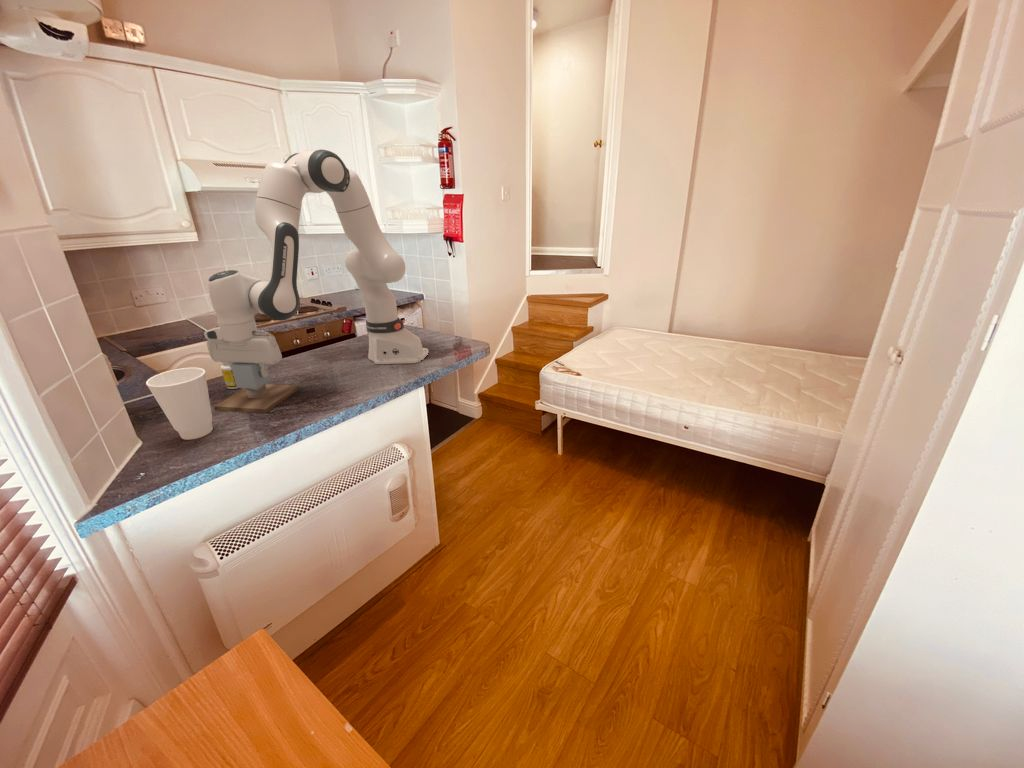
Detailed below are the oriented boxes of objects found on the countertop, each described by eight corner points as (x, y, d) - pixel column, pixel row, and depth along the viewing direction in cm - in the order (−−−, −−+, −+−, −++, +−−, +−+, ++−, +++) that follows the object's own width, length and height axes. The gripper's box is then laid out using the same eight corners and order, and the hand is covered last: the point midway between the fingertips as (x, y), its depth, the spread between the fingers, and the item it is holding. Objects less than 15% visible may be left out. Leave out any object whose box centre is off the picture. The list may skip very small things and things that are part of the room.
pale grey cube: (270, 380, 128) (264, 358, 125) (256, 388, 122) (250, 366, 119) (251, 379, 129) (245, 357, 126) (237, 387, 123) (230, 365, 120)
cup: (169, 430, 111) (147, 374, 105) (222, 417, 118) (204, 363, 111) (168, 450, 102) (143, 390, 96) (225, 435, 109) (205, 378, 102)
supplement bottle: (237, 390, 134) (228, 361, 130) (222, 388, 135) (213, 360, 131) (250, 383, 139) (242, 355, 135) (236, 382, 140) (227, 354, 136)
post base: (299, 389, 134) (294, 368, 131) (266, 412, 119) (259, 389, 116) (253, 386, 136) (247, 366, 133) (215, 409, 121) (207, 387, 118)
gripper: (280, 328, 120) (291, 373, 126) (215, 326, 123) (228, 370, 128) (265, 335, 115) (277, 382, 120) (198, 332, 117) (212, 378, 123)
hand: (252, 376), depth 124 cm, fingers closed on pale grey cube, 6 cm apart
